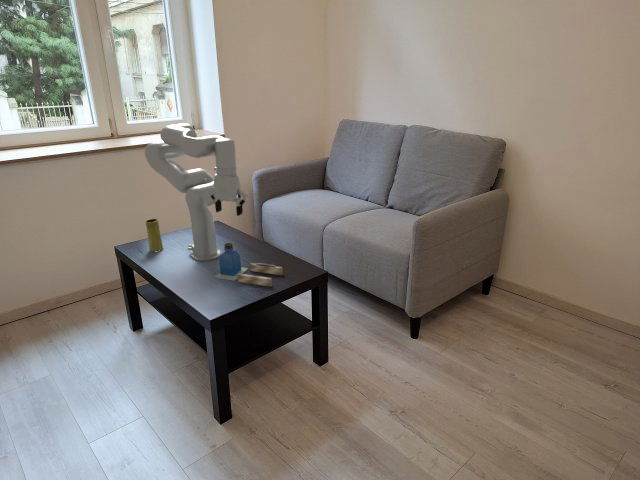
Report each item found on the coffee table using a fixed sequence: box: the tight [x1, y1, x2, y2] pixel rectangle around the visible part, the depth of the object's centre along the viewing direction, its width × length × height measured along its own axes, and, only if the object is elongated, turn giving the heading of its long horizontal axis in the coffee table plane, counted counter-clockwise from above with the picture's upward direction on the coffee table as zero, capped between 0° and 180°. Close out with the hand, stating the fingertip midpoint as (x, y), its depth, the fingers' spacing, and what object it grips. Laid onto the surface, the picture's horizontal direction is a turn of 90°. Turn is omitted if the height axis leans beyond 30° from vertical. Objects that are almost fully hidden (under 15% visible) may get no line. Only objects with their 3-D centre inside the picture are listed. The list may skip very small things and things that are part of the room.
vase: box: [145, 218, 164, 252], centre depth 201 cm, size 6×6×14 cm
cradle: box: [237, 262, 284, 287], centre depth 174 cm, size 14×11×4 cm
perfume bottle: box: [218, 242, 242, 276], centre depth 176 cm, size 6×6×12 cm
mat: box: [214, 266, 249, 282], centre depth 179 cm, size 9×11×1 cm
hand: (229, 213), depth 177 cm, fingers open, 9 cm apart
